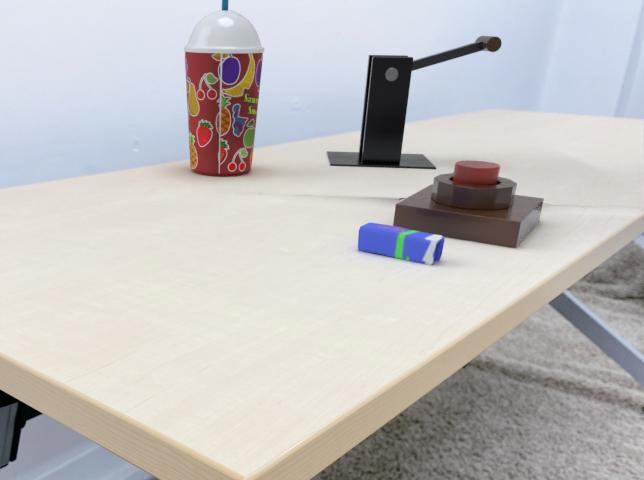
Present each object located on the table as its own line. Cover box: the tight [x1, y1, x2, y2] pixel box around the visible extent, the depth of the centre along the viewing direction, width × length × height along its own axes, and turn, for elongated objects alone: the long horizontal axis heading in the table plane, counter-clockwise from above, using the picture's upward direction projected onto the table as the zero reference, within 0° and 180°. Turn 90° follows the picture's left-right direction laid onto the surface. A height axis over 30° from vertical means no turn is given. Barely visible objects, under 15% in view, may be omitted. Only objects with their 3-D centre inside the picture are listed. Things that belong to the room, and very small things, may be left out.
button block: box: [392, 172, 544, 249], centre depth 61 cm, size 10×10×4 cm
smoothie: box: [183, 0, 265, 177], centre depth 75 cm, size 8×8×20 cm
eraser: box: [357, 222, 445, 266], centre depth 53 cm, size 2×6×2 cm, turn 52°
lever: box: [412, 35, 503, 72], centre depth 81 cm, size 13×6×2 cm, turn 83°
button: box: [453, 160, 501, 186], centre depth 60 cm, size 4×4×2 cm
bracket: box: [326, 54, 437, 170], centre depth 84 cm, size 12×9×13 cm
